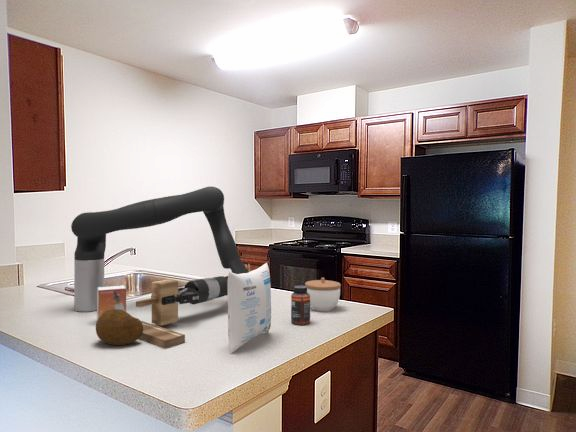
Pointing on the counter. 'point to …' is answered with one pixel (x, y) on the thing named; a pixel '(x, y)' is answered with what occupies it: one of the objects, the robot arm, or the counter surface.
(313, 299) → the lidded bowl
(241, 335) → the pouch
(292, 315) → the supplement bottle
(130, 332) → the potato
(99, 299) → the small box
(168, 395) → the counter surface
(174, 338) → the walnut board
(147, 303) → the tan block
